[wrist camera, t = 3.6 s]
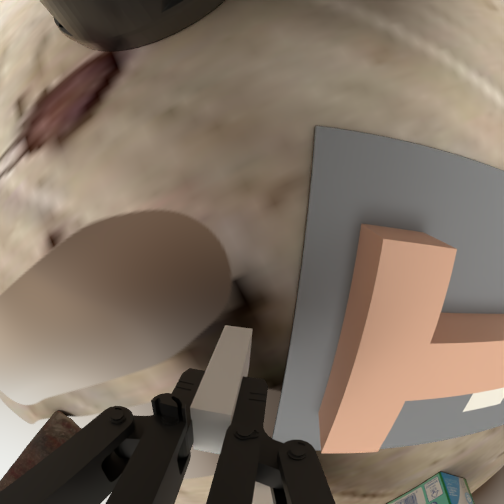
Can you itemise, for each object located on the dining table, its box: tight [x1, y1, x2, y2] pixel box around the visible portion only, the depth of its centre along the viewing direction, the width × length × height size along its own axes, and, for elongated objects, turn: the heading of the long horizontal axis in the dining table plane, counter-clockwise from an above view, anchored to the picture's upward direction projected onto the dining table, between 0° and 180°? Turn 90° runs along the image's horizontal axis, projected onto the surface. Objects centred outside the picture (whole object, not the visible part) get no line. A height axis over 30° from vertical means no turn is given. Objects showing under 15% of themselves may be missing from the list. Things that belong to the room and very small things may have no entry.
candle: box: [0, 411, 81, 491], centre depth 16 cm, size 8×7×20 cm
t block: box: [318, 224, 504, 453], centre depth 15 cm, size 14×14×4 cm
